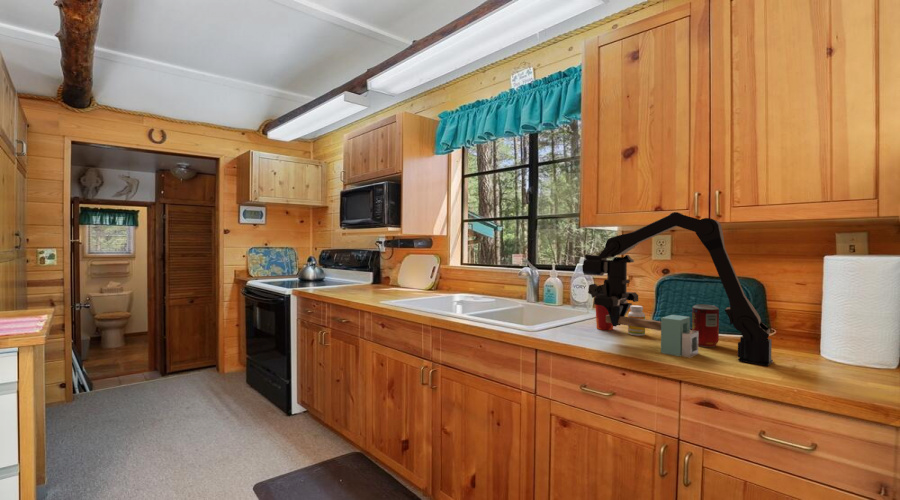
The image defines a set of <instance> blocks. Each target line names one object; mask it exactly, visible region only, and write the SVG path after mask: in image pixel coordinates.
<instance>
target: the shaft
mask: <svg viewBox="0 0 900 500" xmlns="http://www.w3.org/2000/svg"><path fill="white" fill-rule="evenodd" d="M606 322H607V323H612V322H611V319H610V316H609V315H606ZM617 324H621V325H622V326H627V327H628V326H635V327H642V328H645V329H649V330H656V331H661V321H660V320H652V319H646V318H645V319H638V318H631V317H628V316H625V317H623V316H620V318H619V321H618V323H617ZM621 325H620V326H621Z"/></svg>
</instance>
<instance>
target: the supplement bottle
mask: <svg viewBox="0 0 900 500" xmlns="http://www.w3.org/2000/svg"><path fill="white" fill-rule="evenodd" d="M629 309H630V311H629V312H627V313H628V314H627V317H631V318H638V319H646V313H644V312H643V311H644V306H642V305H637V304H635V305H634V304H632V305H631V306H630V308H629ZM627 334H629V335H631V336H639V337H641V336H642V337H643V336H645V335H646V328H642V327H635V326H628V325H627Z"/></svg>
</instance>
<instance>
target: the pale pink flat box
mask: <svg viewBox="0 0 900 500" xmlns="http://www.w3.org/2000/svg"><path fill="white" fill-rule="evenodd" d="M698 354H699V346H698V331H693V330H692V329H690V330H689V331H686V332H683V333H682V356H681V357H683V358H693V357H695V356H697V355H698Z"/></svg>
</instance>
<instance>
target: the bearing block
mask: <svg viewBox="0 0 900 500" xmlns="http://www.w3.org/2000/svg"><path fill="white" fill-rule="evenodd" d="M689 330H691V316H686V315H677V314H670V315H666V316H663V317H661V330H660V353H661V354H663V355H664V354H665V355H670V356H676V357H683V356H682V333H683V332H686V331H689Z"/></svg>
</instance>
